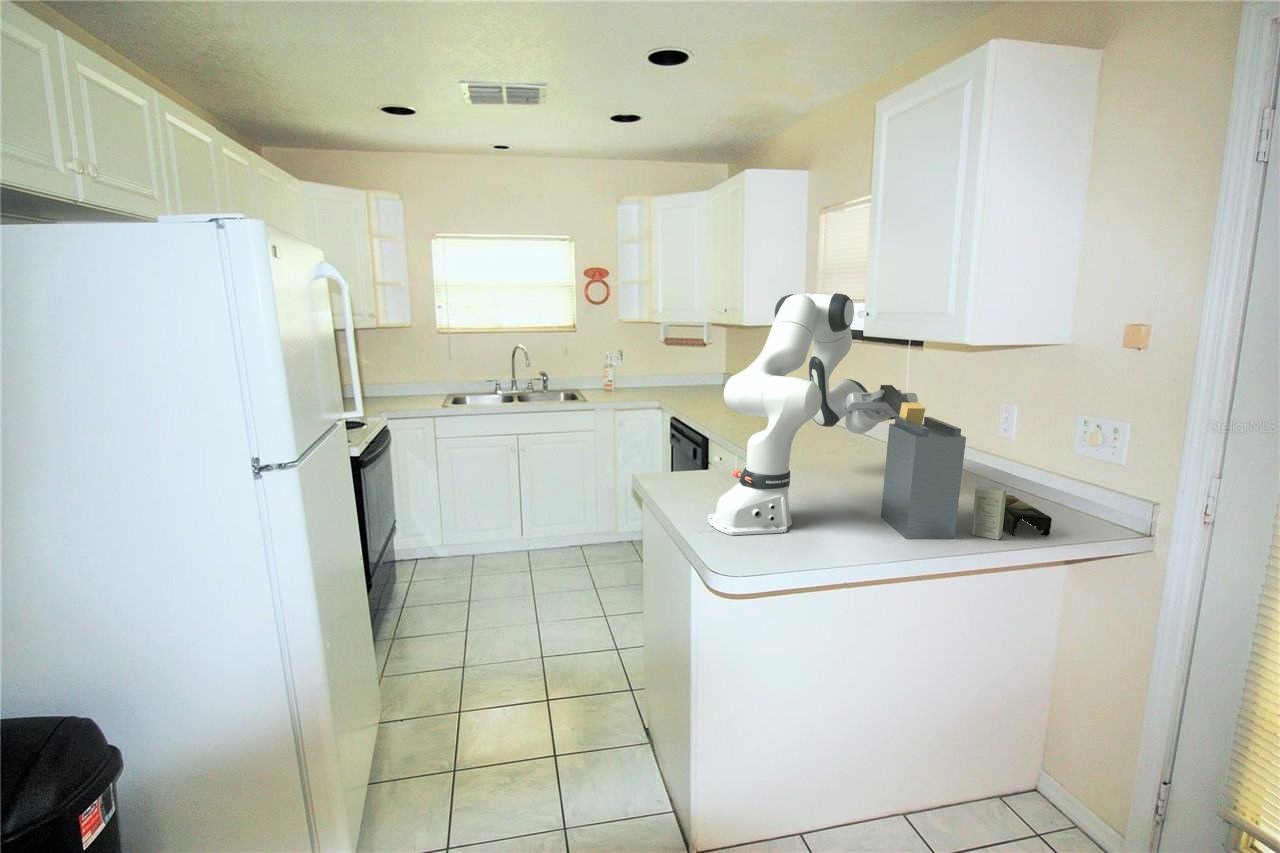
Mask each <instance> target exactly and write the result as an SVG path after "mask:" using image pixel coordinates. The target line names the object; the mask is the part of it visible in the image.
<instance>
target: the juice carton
mask: <svg viewBox="0 0 1280 853" xmlns="http://www.w3.org/2000/svg"><path fill="white" fill-rule="evenodd" d="M1022 519H1023V520H1024V521H1026V522H1028V523H1029V524H1031V525H1032V526H1033V527H1034V528H1035V529H1036V531H1038V532H1039V531H1041V532H1040V536H1043V537H1044V536H1045V537H1049V536H1050V534H1051V529H1052V521H1053V518H1052V516H1050V515H1048V514H1045V513H1044V512H1043V511H1041V510H1039V509H1037V508H1036V507H1034V506H1032V505H1029V504H1028V503H1026V502H1025V501H1023V500H1021V499H1019V498H1018V497H1016V496H1014V495H1010V494H1006V502H1005V511H1004V521H1003V531H1004V532H1005V531H1006V532H1005V533H1007V534H1008V533H1009V534H1010V536H1011V535H1012V536H1011V537H1013V536H1015V532H1016V530H1017V528H1018V525H1019V523H1020V522H1021V521H1022ZM1024 521H1023V522H1024ZM1029 524H1028V525H1029ZM1032 526H1031V527H1032ZM1033 527H1032V528H1033ZM1009 534H1008V535H1009Z"/></svg>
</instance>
